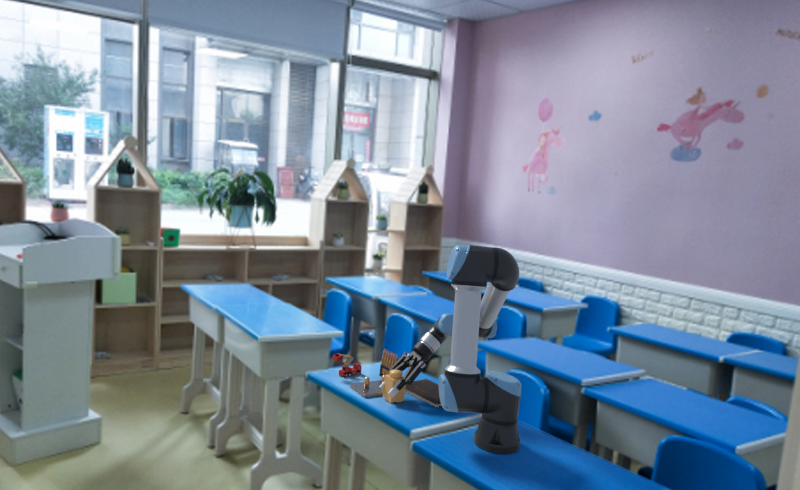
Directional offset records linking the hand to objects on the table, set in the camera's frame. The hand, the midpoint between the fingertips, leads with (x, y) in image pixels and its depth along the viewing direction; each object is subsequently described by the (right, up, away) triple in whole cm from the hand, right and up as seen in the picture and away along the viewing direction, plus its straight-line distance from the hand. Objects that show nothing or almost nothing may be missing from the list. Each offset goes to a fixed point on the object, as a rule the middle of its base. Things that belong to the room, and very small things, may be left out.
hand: (386, 391), depth 230 cm
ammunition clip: (0, -1, +25) cm, 25 cm away
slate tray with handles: (-5, -2, +11) cm, 12 cm away
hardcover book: (+18, -5, +12) cm, 22 cm away
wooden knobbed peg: (+3, -3, +2) cm, 5 cm away
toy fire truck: (-17, +1, +25) cm, 30 cm away
